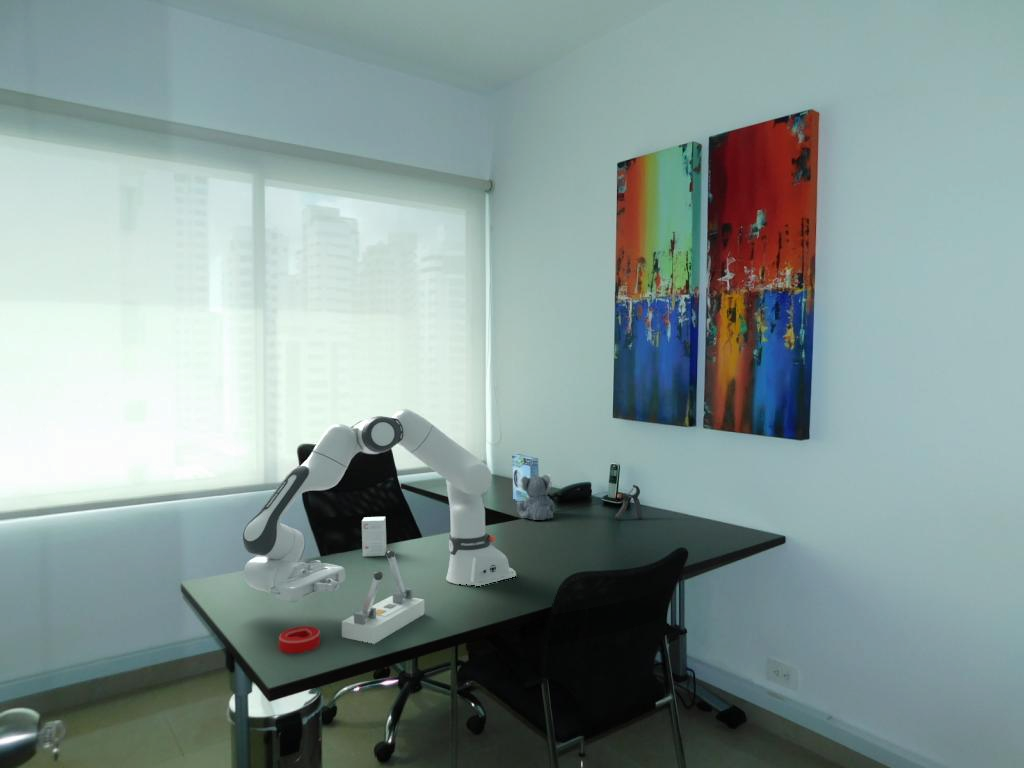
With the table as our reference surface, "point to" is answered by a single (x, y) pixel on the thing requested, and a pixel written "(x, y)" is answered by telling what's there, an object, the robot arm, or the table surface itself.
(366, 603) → the lever
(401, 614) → the switch unit
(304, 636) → the decorative ornament
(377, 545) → the small box
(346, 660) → the table surface
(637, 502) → the hand grip strengthener
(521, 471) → the light blue product box
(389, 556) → the lever
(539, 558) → the table surface
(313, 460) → the robot arm
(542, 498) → the koala plush
